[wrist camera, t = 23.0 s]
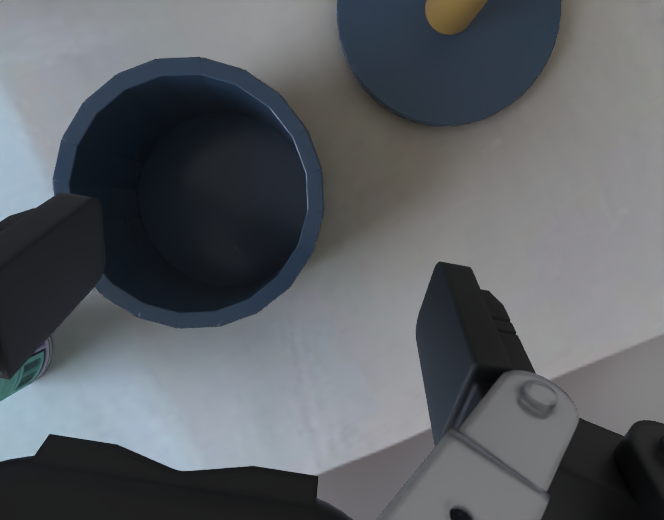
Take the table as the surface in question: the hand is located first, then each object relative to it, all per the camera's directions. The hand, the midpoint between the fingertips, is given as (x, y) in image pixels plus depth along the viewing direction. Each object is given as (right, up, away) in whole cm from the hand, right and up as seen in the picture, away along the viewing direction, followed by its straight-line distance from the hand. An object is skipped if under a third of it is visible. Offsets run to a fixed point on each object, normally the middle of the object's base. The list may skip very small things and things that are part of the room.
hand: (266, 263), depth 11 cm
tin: (-5, +4, +19) cm, 20 cm away
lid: (+9, +15, +17) cm, 25 cm away
